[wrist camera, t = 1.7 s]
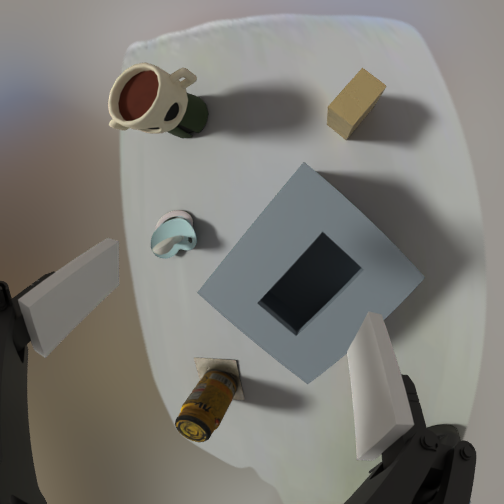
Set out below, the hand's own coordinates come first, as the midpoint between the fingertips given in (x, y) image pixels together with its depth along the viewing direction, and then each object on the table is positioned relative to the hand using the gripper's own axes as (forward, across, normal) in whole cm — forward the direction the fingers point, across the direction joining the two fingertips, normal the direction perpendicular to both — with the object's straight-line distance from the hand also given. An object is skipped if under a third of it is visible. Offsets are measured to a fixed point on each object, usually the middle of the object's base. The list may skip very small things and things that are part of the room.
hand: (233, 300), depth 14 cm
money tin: (+22, -6, +6) cm, 24 cm away
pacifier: (+24, +12, +8) cm, 28 cm away
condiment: (+19, +1, +30) cm, 35 cm away
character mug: (+26, +14, -8) cm, 31 cm away
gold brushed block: (+25, -6, -13) cm, 29 cm away
